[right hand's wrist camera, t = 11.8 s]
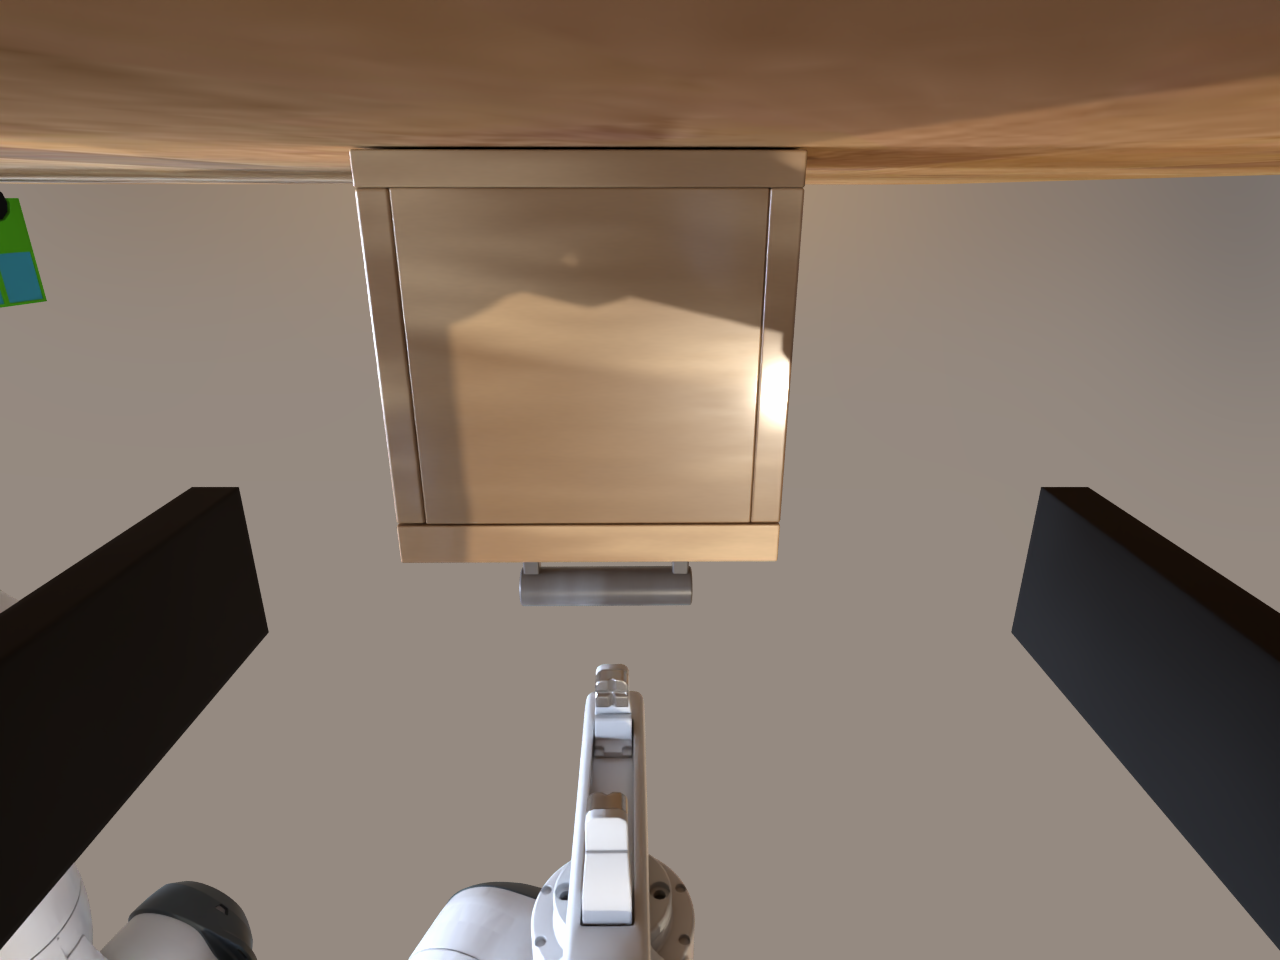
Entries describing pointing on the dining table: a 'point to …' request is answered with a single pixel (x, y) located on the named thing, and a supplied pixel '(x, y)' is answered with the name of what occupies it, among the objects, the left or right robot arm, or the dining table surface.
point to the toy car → (17, 258)
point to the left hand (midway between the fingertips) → (609, 729)
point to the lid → (593, 556)
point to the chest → (582, 330)
